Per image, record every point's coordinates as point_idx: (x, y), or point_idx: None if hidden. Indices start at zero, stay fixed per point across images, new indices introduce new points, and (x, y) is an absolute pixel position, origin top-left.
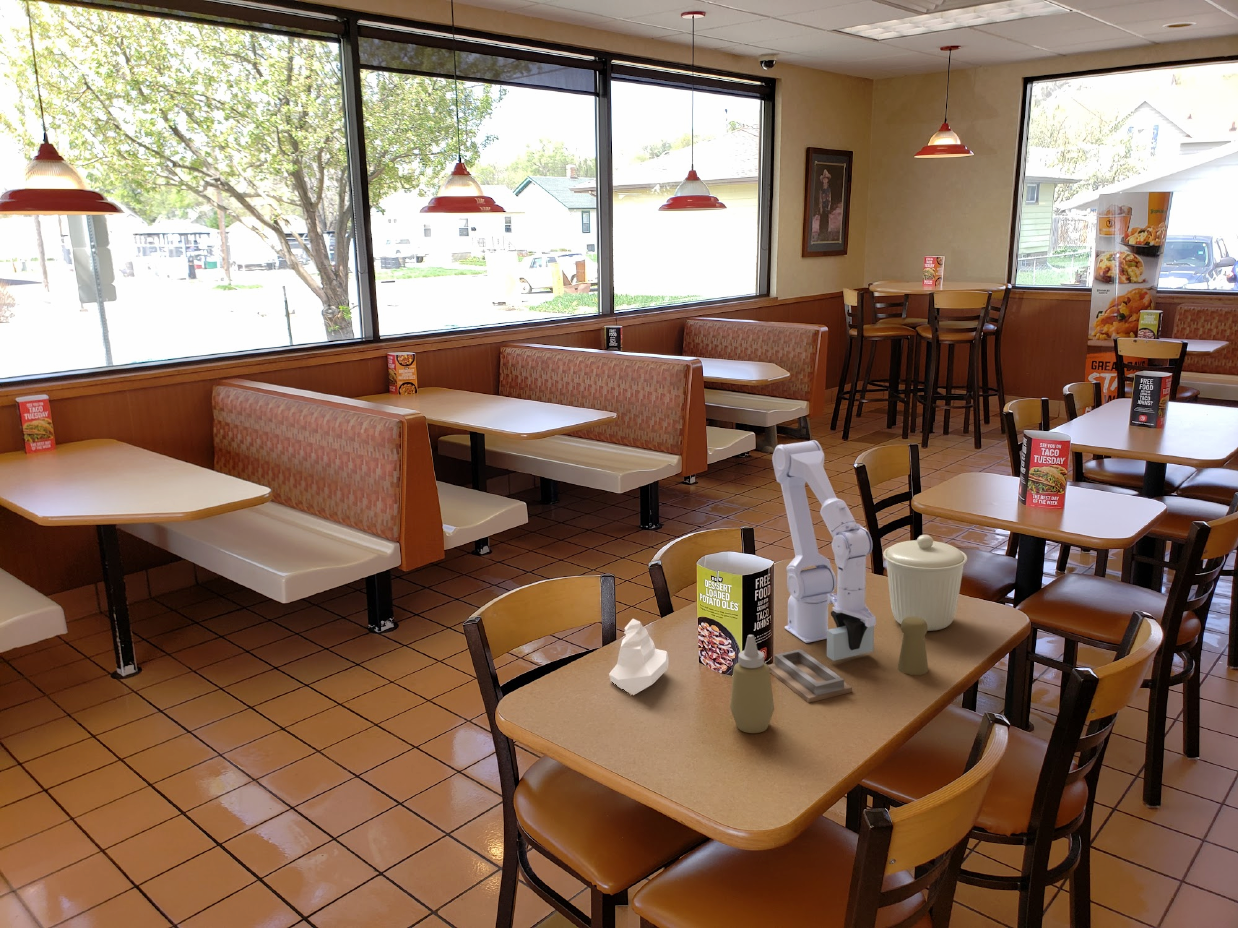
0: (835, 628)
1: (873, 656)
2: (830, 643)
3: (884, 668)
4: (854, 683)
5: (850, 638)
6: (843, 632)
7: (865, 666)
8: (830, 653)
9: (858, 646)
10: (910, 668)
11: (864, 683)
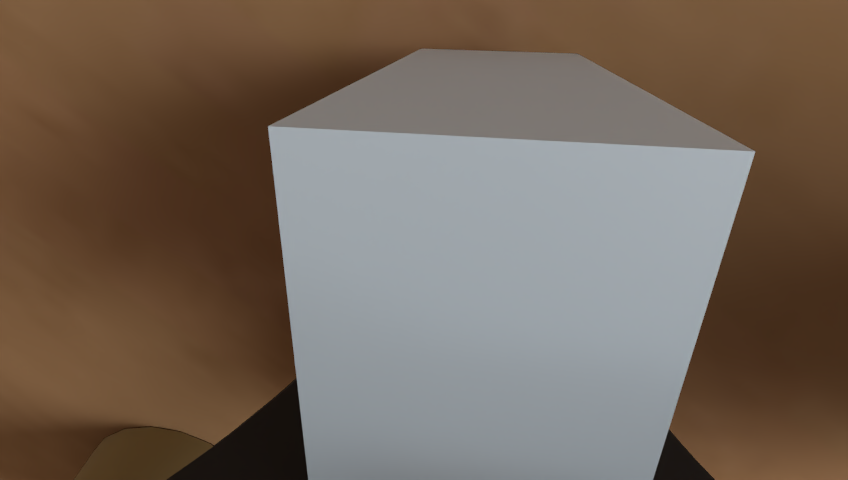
0: (626, 437)
1: None
2: (485, 76)
3: (231, 380)
4: (32, 4)
5: (262, 411)
6: (308, 433)
7: None
8: (486, 56)
9: None
10: (78, 476)
11: (21, 92)
